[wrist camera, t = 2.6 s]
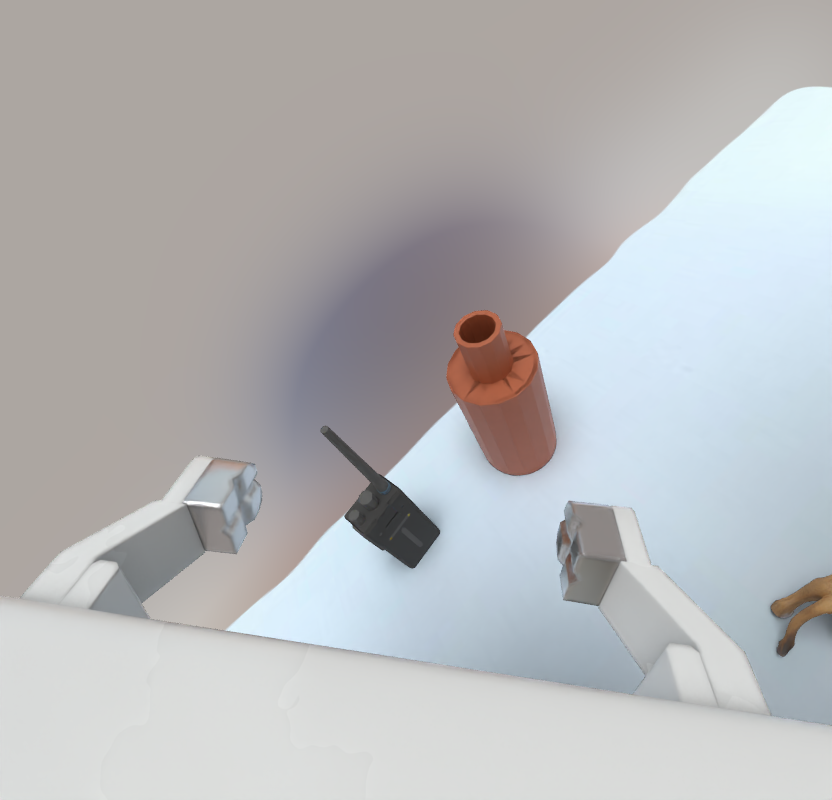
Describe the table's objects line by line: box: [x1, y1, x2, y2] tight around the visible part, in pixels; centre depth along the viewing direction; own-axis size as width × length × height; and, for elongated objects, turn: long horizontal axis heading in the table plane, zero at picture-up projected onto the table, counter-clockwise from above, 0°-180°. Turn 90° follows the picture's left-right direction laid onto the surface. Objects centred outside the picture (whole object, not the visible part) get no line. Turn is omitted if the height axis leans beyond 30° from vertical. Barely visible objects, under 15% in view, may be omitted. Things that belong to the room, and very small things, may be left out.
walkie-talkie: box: [321, 426, 440, 568], centre depth 37 cm, size 5×3×20 cm
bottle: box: [447, 310, 556, 475], centre depth 40 cm, size 7×7×18 cm
